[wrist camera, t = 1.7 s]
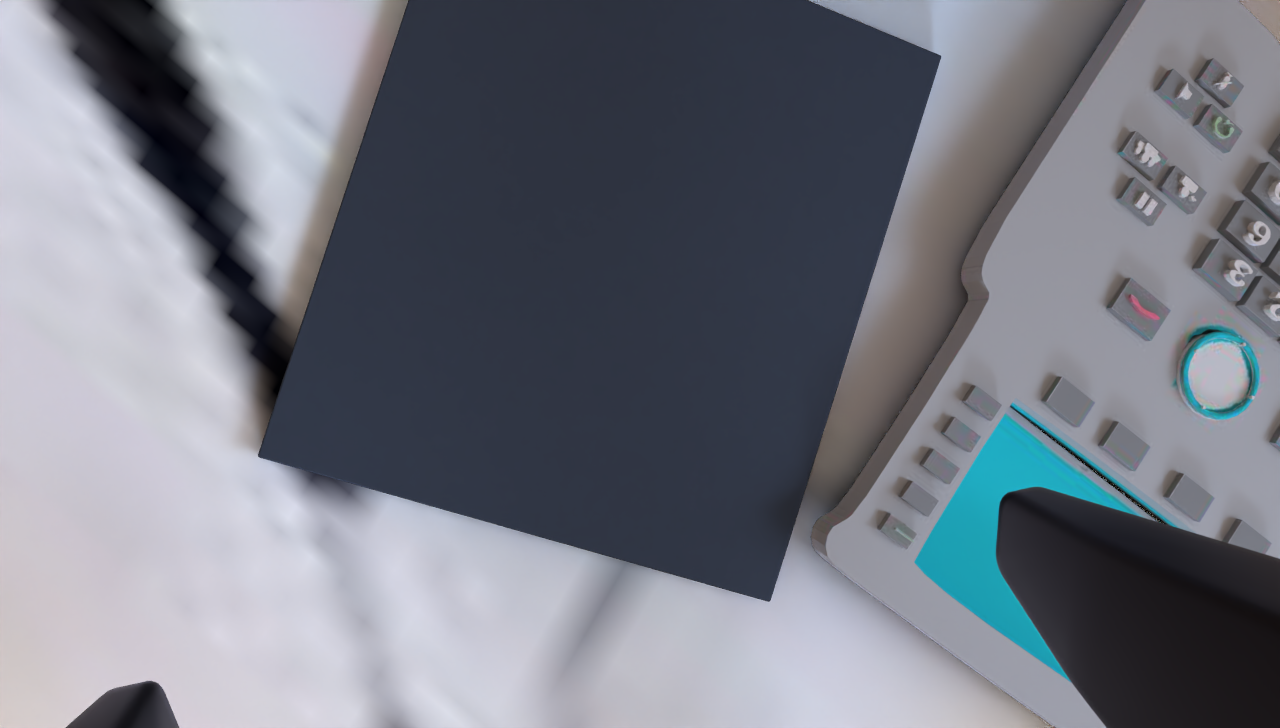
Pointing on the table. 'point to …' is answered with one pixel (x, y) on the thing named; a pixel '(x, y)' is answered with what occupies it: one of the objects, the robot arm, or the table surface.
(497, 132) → the desk pad
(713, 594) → the table surface
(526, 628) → the table surface
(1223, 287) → the office telephone
